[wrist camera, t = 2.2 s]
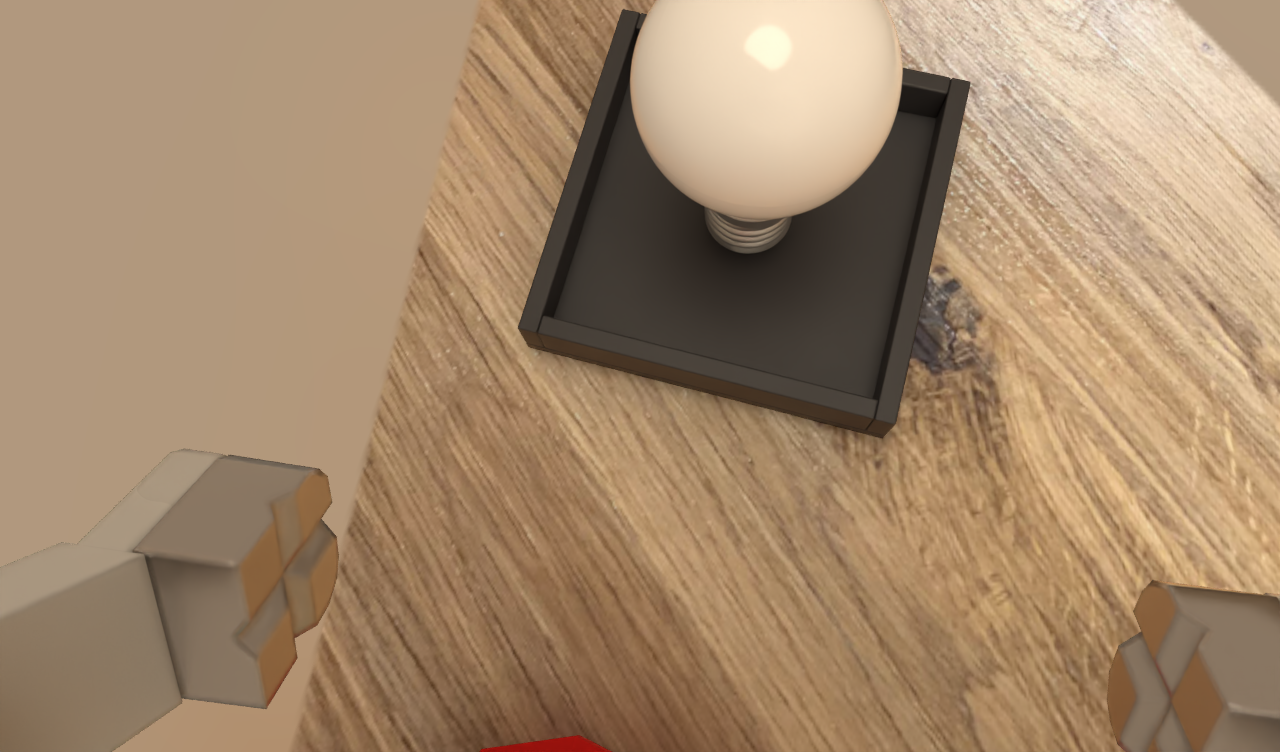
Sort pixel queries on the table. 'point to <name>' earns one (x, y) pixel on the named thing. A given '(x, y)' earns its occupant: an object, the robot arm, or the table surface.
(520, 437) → the table surface
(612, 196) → the tray
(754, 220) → the lightbulb
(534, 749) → the heart
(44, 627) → the robot arm
